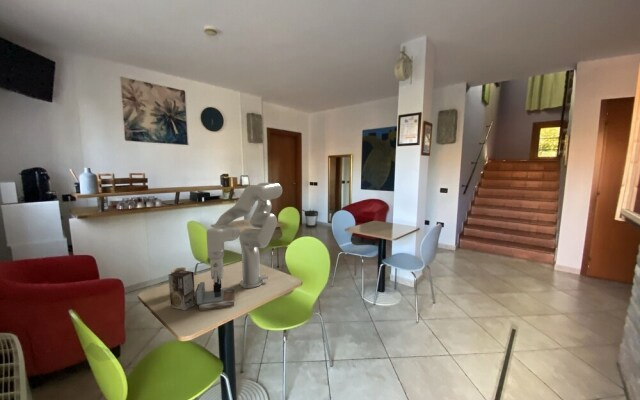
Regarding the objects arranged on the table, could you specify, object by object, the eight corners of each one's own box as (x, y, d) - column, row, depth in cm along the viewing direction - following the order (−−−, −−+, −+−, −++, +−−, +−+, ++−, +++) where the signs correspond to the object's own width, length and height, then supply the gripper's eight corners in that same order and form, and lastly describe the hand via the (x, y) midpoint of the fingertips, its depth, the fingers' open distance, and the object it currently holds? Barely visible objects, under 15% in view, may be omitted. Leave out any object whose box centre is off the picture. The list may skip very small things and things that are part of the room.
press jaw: (224, 292, 134) (223, 271, 132) (222, 303, 123) (221, 279, 122) (199, 295, 130) (197, 273, 129) (195, 306, 120) (194, 282, 119)
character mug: (185, 288, 142) (184, 265, 141) (194, 290, 139) (192, 267, 137) (165, 296, 132) (164, 271, 131) (174, 299, 129) (173, 274, 128)
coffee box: (196, 304, 125) (194, 271, 123) (185, 310, 119) (183, 276, 117) (181, 301, 128) (179, 269, 126) (170, 307, 122) (167, 274, 120)
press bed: (234, 292, 137) (234, 287, 137) (233, 306, 123) (233, 301, 123) (203, 296, 133) (203, 291, 133) (199, 311, 119) (198, 305, 118)
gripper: (223, 258, 119) (224, 296, 121) (225, 248, 134) (226, 282, 136) (205, 260, 116) (207, 299, 118) (209, 249, 132) (211, 284, 134)
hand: (217, 289), depth 127 cm, fingers closed on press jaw, 3 cm apart
